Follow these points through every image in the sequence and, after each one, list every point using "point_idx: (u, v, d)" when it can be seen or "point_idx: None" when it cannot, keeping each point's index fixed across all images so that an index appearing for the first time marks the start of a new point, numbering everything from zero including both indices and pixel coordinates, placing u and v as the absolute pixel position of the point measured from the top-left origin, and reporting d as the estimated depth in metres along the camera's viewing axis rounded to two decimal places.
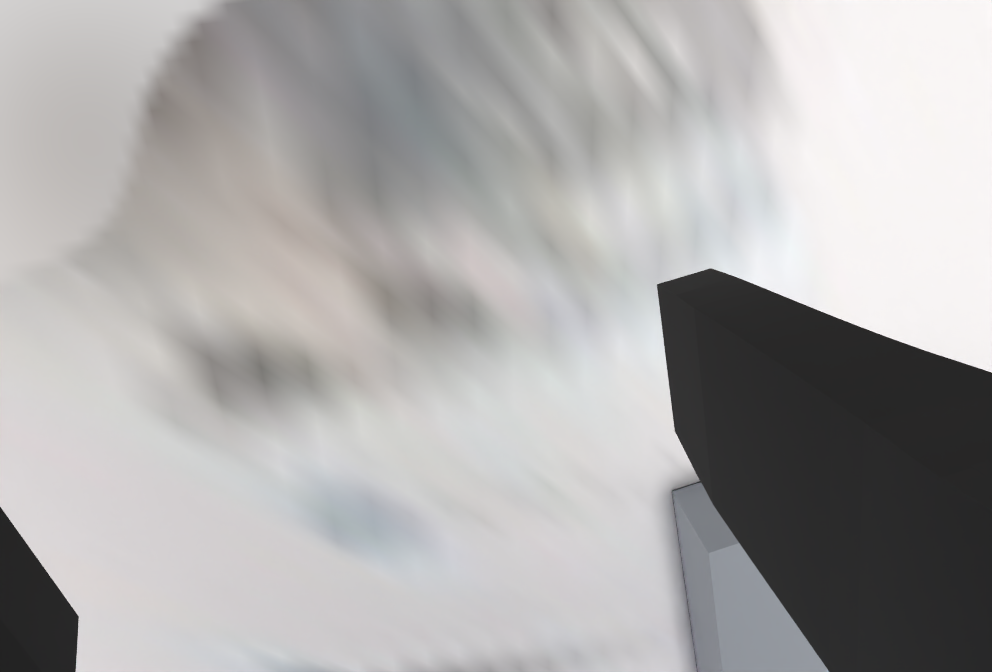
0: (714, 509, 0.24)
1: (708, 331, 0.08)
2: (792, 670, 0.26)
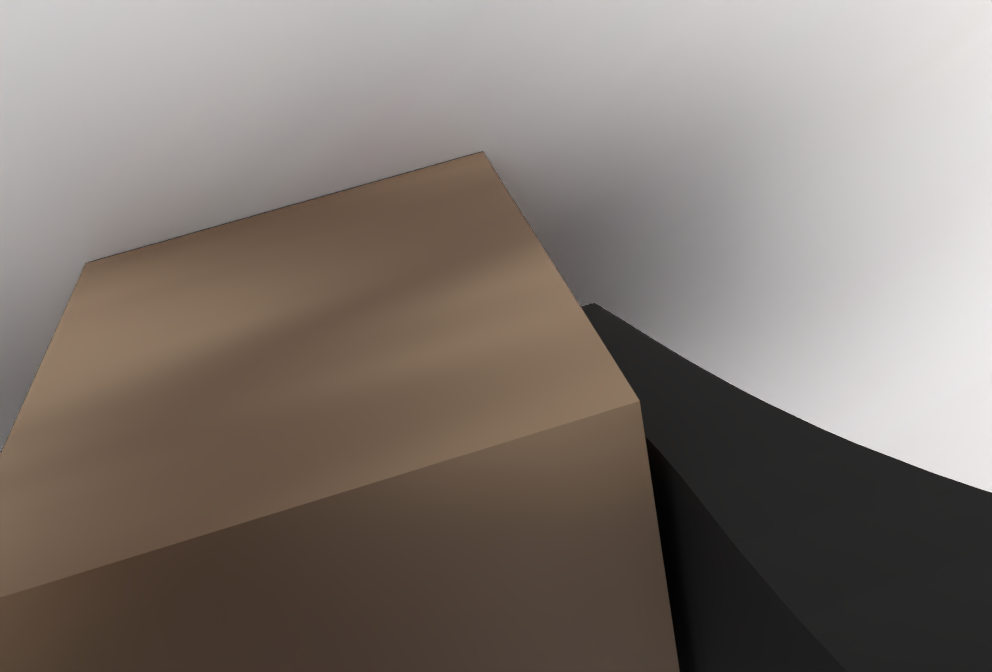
0: None
1: None
2: None
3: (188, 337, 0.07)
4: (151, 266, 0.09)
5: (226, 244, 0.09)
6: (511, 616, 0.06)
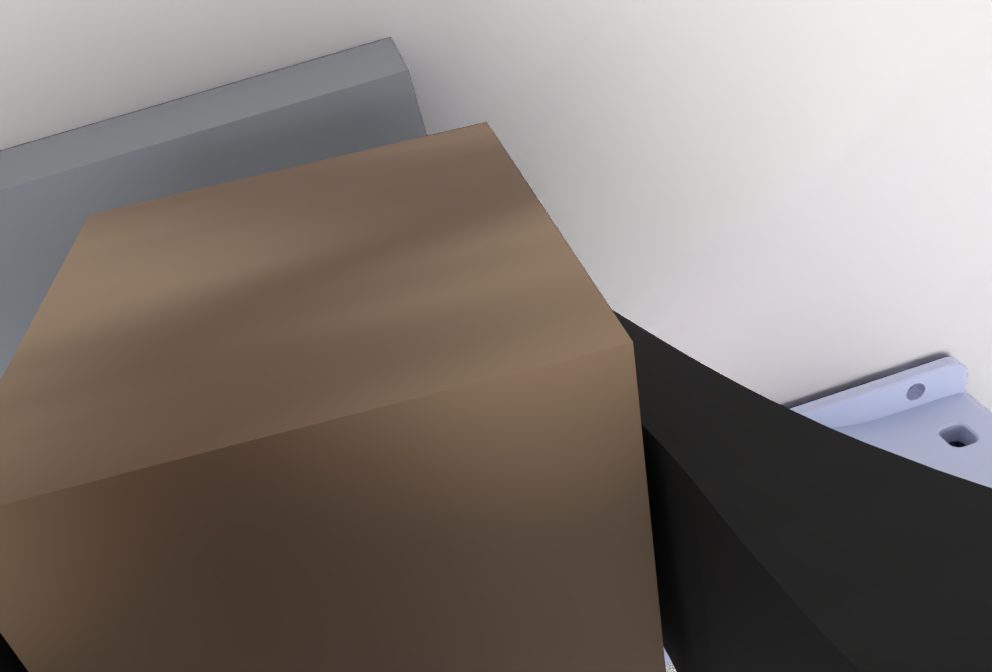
0: None
1: None
2: None
3: (190, 279, 0.08)
4: (155, 218, 0.09)
5: (229, 200, 0.09)
6: (498, 557, 0.06)
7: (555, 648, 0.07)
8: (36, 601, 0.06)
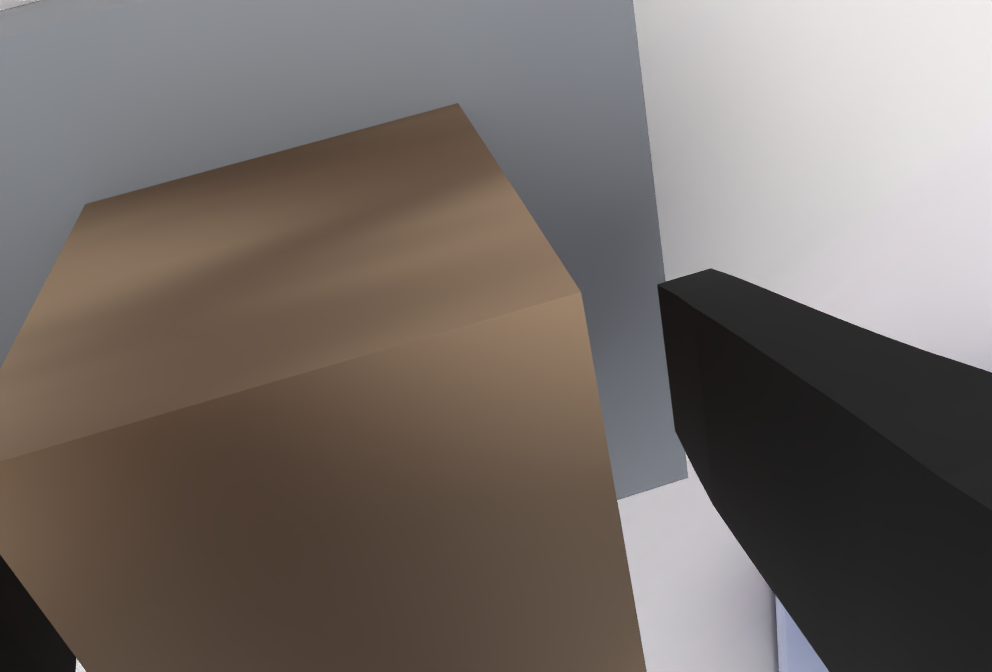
0: None
1: (708, 331, 0.08)
2: None
3: (180, 259, 0.08)
4: (147, 204, 0.10)
5: (217, 185, 0.10)
6: (470, 498, 0.07)
7: (529, 584, 0.07)
8: (48, 547, 0.06)
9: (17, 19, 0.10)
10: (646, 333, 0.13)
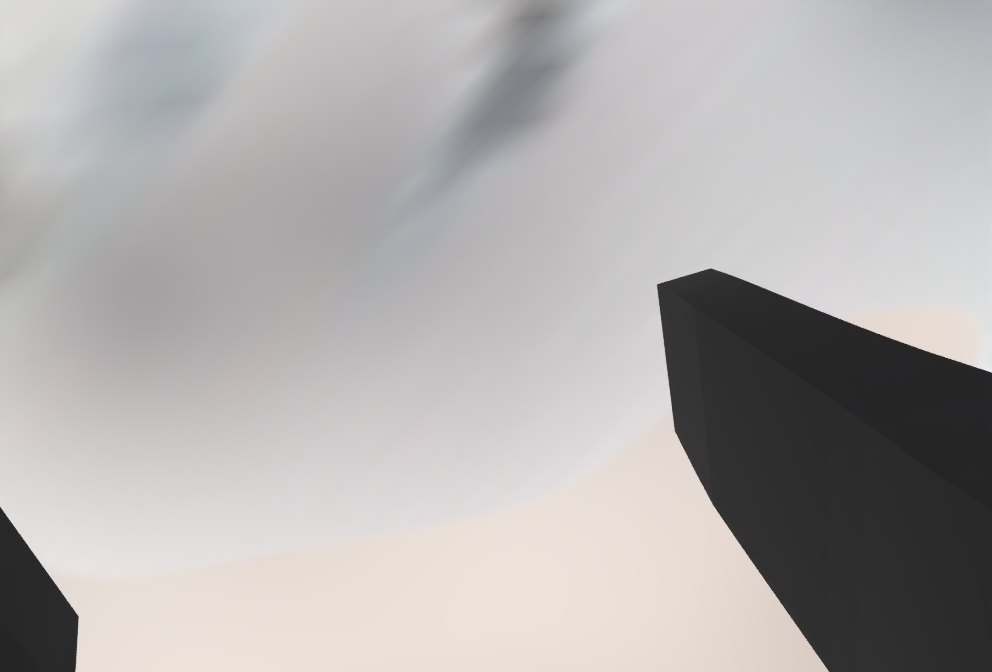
0: None
1: (708, 331, 0.08)
2: None
3: None
4: None
5: None
6: None
7: None
8: None
9: None
10: None
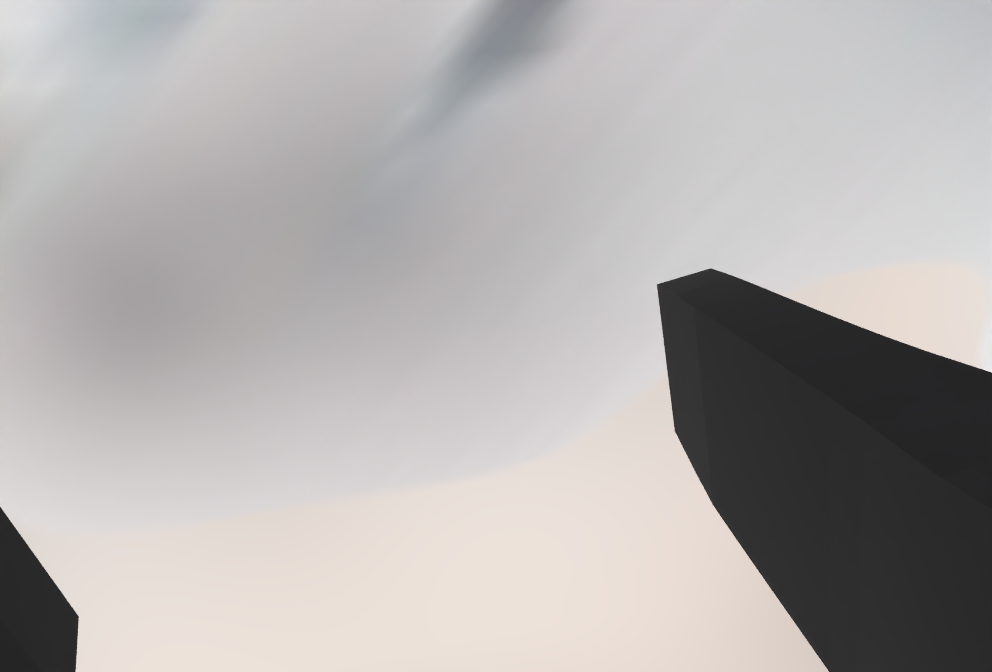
0: None
1: (708, 331, 0.08)
2: None
3: None
4: None
5: None
6: None
7: None
8: None
9: None
10: None
